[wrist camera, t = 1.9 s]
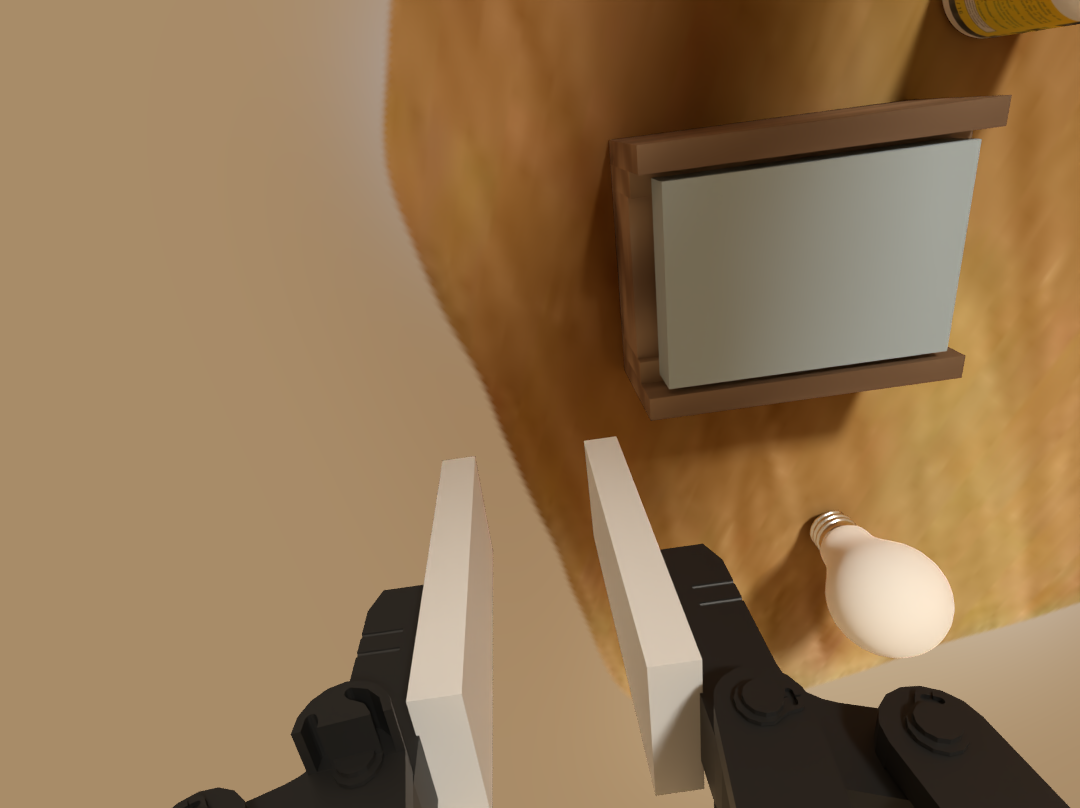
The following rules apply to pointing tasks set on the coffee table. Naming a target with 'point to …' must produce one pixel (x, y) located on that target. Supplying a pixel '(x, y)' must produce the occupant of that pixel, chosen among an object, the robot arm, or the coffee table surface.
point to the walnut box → (758, 145)
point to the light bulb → (882, 589)
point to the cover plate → (810, 260)
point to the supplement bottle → (1010, 16)
